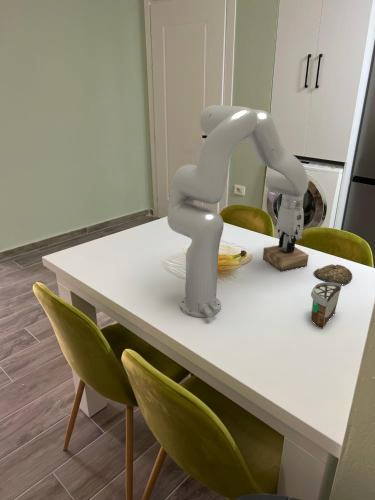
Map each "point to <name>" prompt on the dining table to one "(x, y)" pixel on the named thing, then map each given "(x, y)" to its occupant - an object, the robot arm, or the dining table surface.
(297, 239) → the robot arm
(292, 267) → the bore block
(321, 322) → the food container
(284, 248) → the pin
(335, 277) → the bread roll
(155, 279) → the dining table surface
